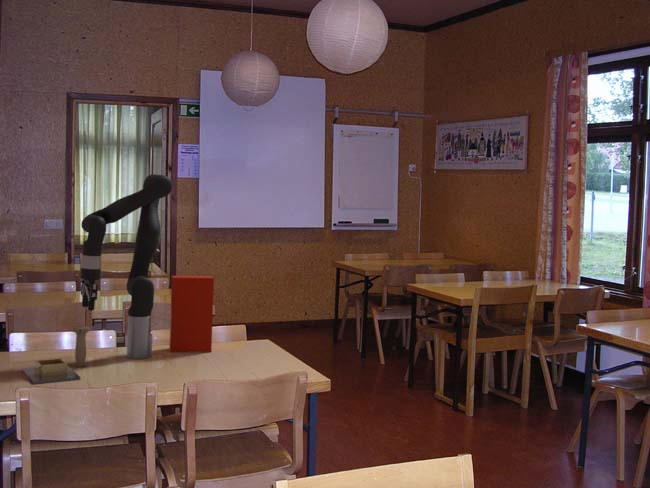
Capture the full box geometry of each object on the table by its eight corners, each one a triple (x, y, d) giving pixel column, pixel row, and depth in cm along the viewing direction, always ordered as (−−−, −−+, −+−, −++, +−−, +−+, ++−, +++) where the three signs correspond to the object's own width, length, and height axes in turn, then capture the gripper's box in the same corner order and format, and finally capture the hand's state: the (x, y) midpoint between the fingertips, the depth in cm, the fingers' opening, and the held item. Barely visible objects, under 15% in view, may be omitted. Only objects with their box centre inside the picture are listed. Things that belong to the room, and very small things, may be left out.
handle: (88, 367, 281) (89, 328, 279) (70, 367, 280) (71, 328, 278) (89, 364, 285) (90, 326, 284) (72, 364, 284) (73, 326, 283)
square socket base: (66, 366, 281) (66, 354, 280) (80, 379, 264) (80, 366, 264) (22, 370, 272) (22, 357, 271) (33, 384, 255) (33, 370, 255)
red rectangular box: (169, 348, 319) (171, 275, 316) (209, 347, 323) (212, 275, 320) (170, 352, 311) (172, 277, 308) (211, 352, 315) (213, 278, 312)
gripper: (105, 269, 279) (102, 311, 280) (95, 265, 291) (92, 305, 292) (85, 269, 275) (82, 311, 276) (76, 264, 287) (73, 305, 288)
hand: (87, 308), depth 284 cm, fingers open, 8 cm apart
